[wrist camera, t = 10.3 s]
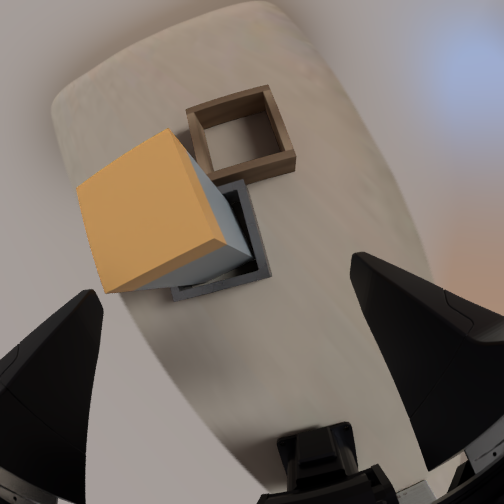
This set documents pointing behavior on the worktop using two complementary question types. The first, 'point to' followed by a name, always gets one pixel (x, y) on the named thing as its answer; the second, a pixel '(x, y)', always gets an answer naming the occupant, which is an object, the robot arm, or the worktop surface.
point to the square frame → (235, 109)
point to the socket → (240, 193)
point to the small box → (417, 494)
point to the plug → (159, 220)
